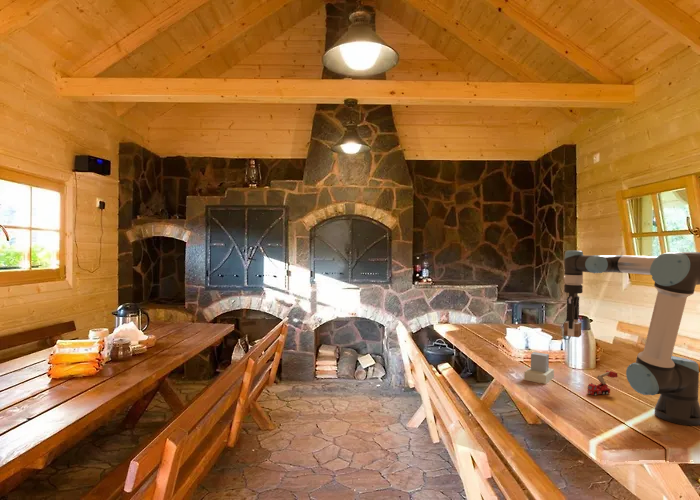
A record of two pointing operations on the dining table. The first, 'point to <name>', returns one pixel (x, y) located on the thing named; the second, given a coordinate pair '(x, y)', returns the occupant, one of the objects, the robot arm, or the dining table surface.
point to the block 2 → (576, 330)
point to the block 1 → (539, 362)
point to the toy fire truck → (601, 384)
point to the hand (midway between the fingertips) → (572, 334)
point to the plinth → (539, 376)
